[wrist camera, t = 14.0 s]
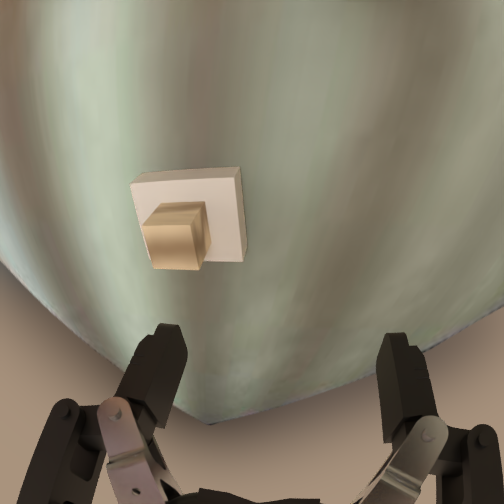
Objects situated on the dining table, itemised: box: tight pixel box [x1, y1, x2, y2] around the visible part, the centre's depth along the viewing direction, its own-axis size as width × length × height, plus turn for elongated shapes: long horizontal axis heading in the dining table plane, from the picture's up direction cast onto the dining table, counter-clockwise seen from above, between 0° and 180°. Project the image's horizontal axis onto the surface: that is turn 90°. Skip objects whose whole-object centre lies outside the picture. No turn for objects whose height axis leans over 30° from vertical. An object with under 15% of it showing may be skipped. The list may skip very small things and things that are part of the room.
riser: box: [130, 167, 247, 262], centre depth 42 cm, size 12×14×4 cm
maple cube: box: [142, 201, 211, 270], centre depth 38 cm, size 6×6×6 cm
